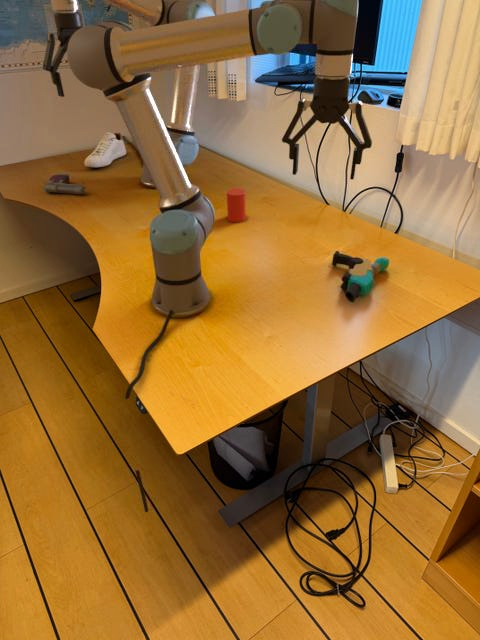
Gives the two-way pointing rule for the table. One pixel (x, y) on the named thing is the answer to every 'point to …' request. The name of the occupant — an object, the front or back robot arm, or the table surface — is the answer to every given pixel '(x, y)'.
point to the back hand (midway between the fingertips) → (82, 93)
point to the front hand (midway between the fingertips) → (323, 175)
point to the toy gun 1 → (63, 185)
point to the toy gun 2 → (358, 274)
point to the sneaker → (106, 151)
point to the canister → (236, 205)
